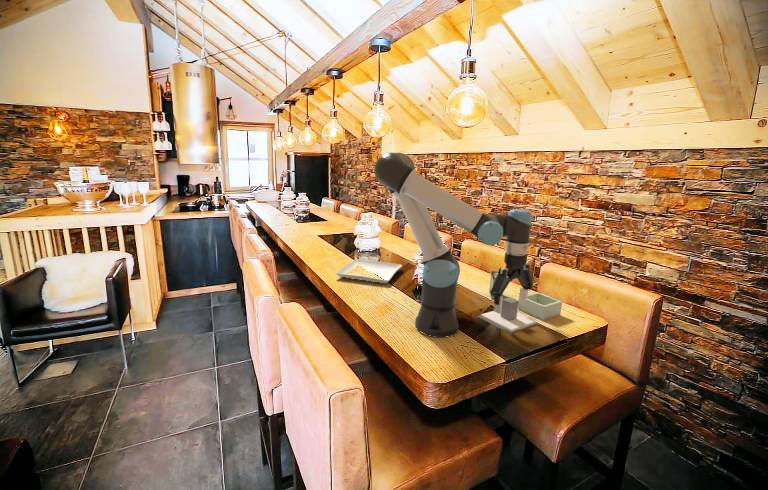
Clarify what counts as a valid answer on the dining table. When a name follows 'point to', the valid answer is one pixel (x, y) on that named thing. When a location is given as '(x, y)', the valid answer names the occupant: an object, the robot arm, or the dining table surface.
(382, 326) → the dining table surface
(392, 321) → the dining table surface
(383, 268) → the square plate
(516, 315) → the lid
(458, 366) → the dining table surface
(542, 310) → the open square box
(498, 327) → the mat
